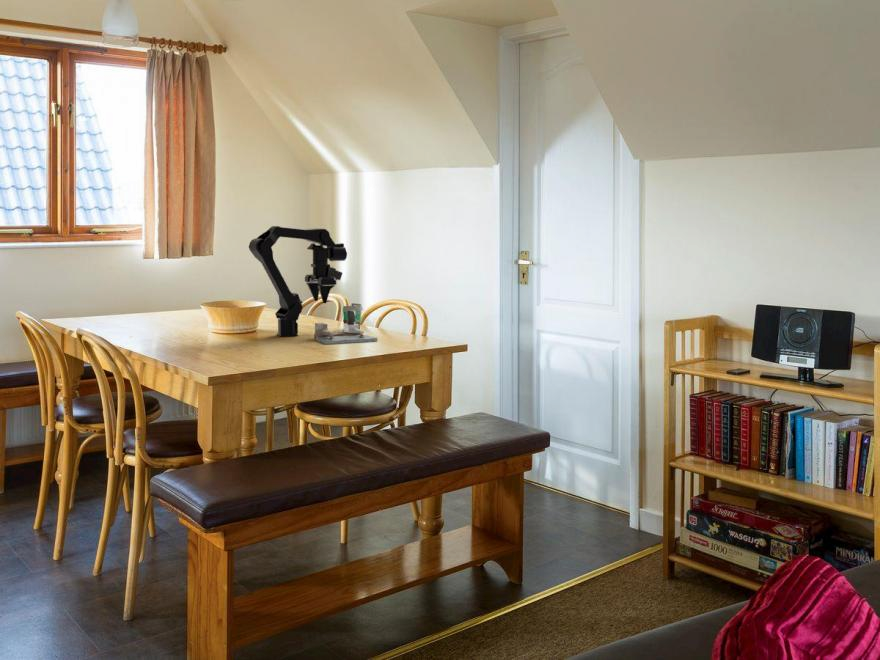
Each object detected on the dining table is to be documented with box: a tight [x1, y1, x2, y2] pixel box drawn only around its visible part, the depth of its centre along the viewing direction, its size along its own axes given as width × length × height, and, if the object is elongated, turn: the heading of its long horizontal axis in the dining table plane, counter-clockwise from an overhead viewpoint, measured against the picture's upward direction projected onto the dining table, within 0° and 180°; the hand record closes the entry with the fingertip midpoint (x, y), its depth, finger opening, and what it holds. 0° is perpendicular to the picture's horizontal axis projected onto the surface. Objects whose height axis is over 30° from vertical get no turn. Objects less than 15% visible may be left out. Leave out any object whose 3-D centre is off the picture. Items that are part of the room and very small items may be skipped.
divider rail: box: [313, 322, 360, 339], centre depth 335 cm, size 18×13×6 cm
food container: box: [342, 303, 364, 330], centre depth 361 cm, size 12×6×10 cm, turn 168°
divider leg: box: [343, 310, 365, 336], centre depth 337 cm, size 4×13×8 cm, turn 28°
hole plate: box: [315, 334, 378, 345], centre depth 330 cm, size 20×10×1 cm, turn 118°
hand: (320, 302), depth 349 cm, fingers open, 9 cm apart
